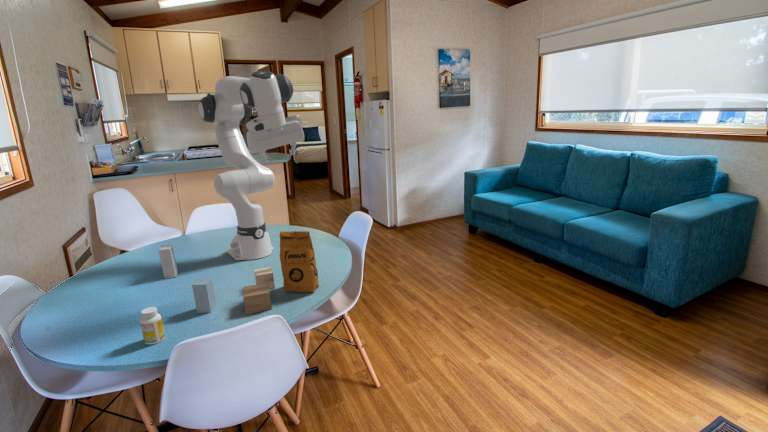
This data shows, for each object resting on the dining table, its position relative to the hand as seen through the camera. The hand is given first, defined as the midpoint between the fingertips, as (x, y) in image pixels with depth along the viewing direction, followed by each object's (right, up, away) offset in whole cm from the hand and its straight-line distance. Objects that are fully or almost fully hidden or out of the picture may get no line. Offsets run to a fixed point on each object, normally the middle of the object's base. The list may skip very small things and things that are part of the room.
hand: (280, 157), depth 145 cm
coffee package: (+8, -48, -1) cm, 49 cm away
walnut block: (-4, -51, -13) cm, 53 cm away
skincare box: (-49, -46, +16) cm, 69 cm away
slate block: (-21, -52, -13) cm, 58 cm away
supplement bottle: (-29, -57, -30) cm, 71 cm away
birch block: (-6, -47, +2) cm, 48 cm away
